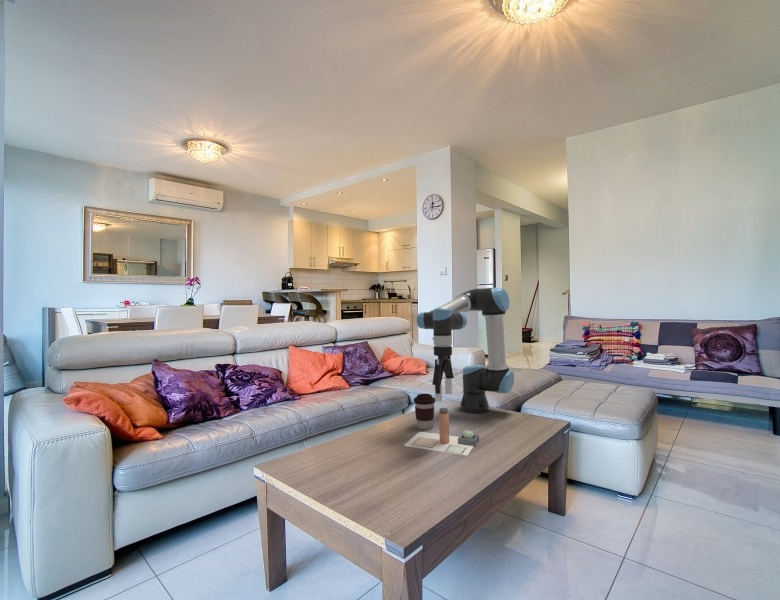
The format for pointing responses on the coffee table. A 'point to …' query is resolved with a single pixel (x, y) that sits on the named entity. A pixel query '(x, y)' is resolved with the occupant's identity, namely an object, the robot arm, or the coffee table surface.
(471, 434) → the button
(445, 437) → the marker
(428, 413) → the coffee cup
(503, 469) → the coffee table surface
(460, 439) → the button housing
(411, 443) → the sheet
